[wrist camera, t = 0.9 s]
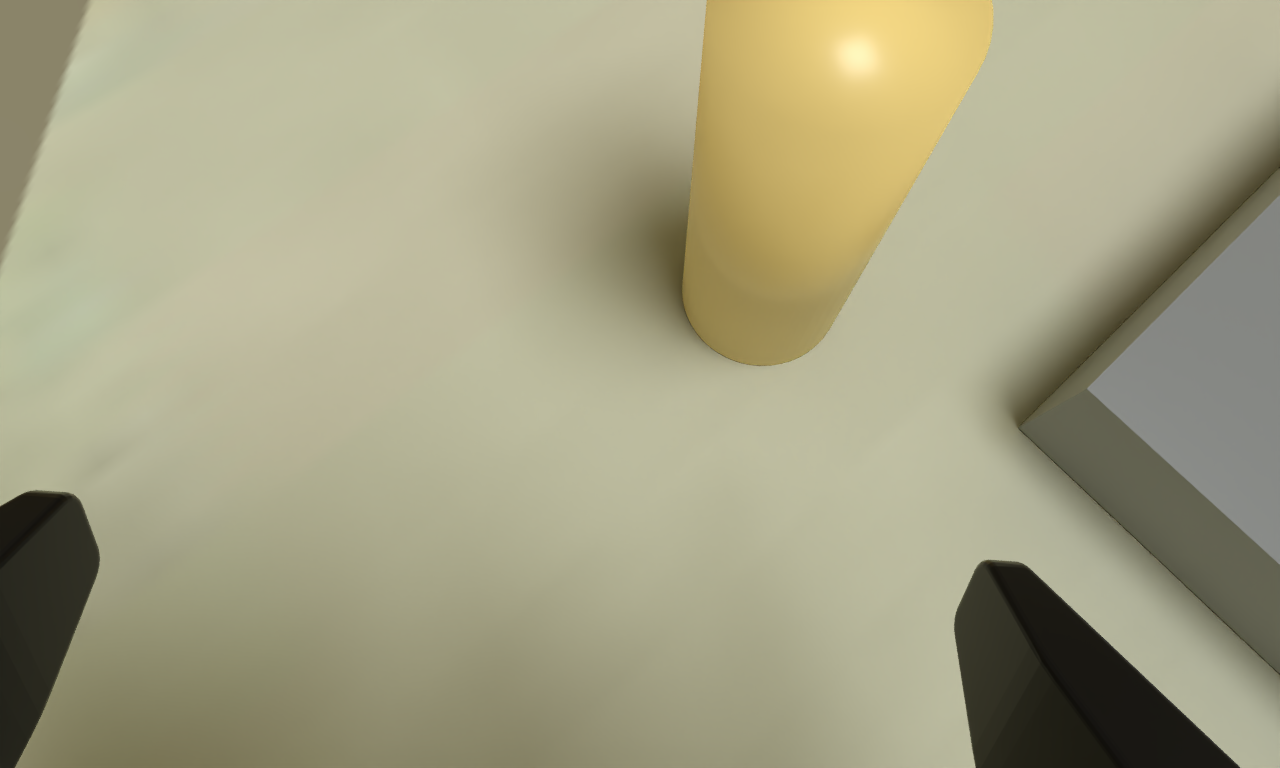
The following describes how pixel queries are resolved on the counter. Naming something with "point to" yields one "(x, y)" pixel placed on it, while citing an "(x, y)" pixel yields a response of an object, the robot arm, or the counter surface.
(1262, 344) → the socket block
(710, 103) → the plug
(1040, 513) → the counter surface
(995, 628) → the robot arm
